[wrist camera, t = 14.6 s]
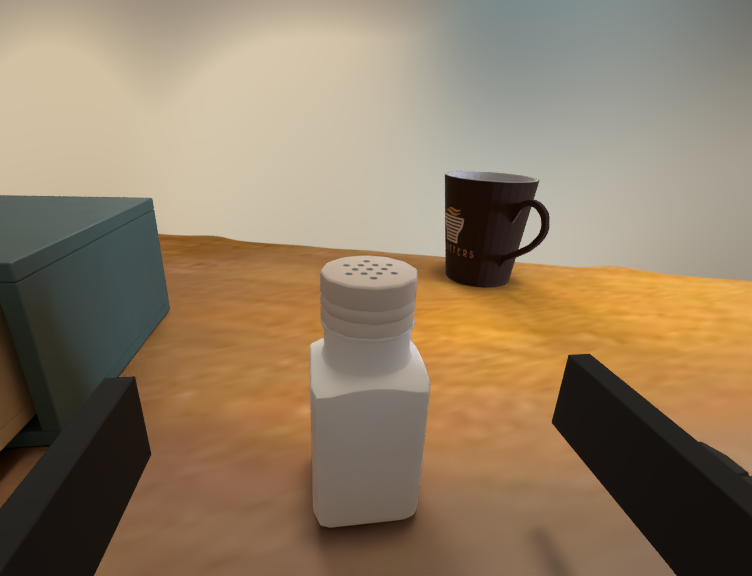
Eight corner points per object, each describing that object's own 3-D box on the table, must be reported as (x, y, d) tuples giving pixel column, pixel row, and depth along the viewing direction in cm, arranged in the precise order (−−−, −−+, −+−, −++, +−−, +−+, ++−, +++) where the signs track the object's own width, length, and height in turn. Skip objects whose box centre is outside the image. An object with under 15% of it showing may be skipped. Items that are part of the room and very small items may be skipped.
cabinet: (66, 445, 18) (10, 262, 15) (-265, 467, 16) (-408, 264, 13) (170, 309, 32) (152, 197, 28) (-5, 312, 30) (-45, 194, 27)
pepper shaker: (420, 525, 15) (447, 291, 12) (313, 537, 15) (307, 293, 11) (399, 447, 19) (414, 251, 15) (312, 454, 18) (308, 251, 15)
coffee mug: (432, 260, 46) (441, 169, 42) (508, 265, 46) (524, 173, 42) (441, 301, 35) (454, 183, 32) (541, 307, 35) (566, 189, 31)
